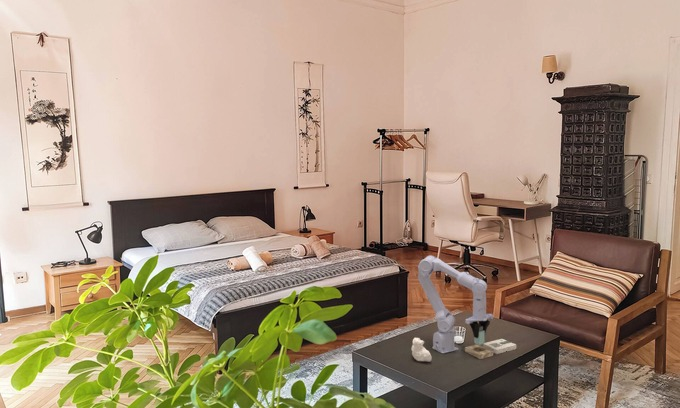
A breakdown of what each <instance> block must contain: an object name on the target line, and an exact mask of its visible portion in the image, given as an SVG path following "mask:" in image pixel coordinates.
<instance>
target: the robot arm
mask: <svg viewBox="0 0 680 408" xmlns="http://www.w3.org/2000/svg"><path fill="white" fill-rule="evenodd" d="M417 270H418V273H417V274H418V276H417V280H418V282H419V283H420V286H421V287H422V290H423V292H424V293H425V295H426V297H427V300H428V302H429V304H430V305H431V307H432V309H433V311H434V313H435V321H436V322H437V323H436V324H437V325H436V326H437V329H438V330H437V331H436V332H434V333H433V336H432V345H433V346H432V347H431V348H432V349H433V350H434V351H435V350H436V351H437V352H439V353H441V354H447V353H450V352H454V351H459V348H458V347H456V346H455V328H454V325H455V324H456V317H455V316H454V315H453V314H452V313H451V312H450V310H449V309H448V308H446V306H445V304H444V302H443V301H442V298H441V297H440V294H439V293H438V290H437V289H436V287H435V285H434V282H433V280H432V279H431V276H432V273H433V272H442V273H444V274H446V275H449V276H450V277H452V278H454V279H456V281H457V284H460V285H462V286H463V287H465V288H467V289H469V290H470V291H471V292H472V294H473V295H472V296H473V297H472V316H470V317H468V318H465V324H467V325H469V326H470V328H471V330H472V334H473V338H474V337H475V338H478V336H479V328H480V325H481V326H483V330H484V331H485V334H486V333H487V329H488V327H489V326H490V324H491V321H490V320H493V319H494V314H492V313H487V292H486V291H487V289H488V284H487V282H486V280H485V281H484V279H480V278H478V277H474V276H473V275H471V274H470V272H468V271H462V272H460V271H459V270H457V269H455V268H454V267H452V266H451V265H449V264H447V263H446V262H444V261H443V260H441V259H440V258H439V257H436V256H434V255H427V256H425V257H424V259H423V258H422V259H421V260H420V262H419V263H418V266H417Z"/></svg>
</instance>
